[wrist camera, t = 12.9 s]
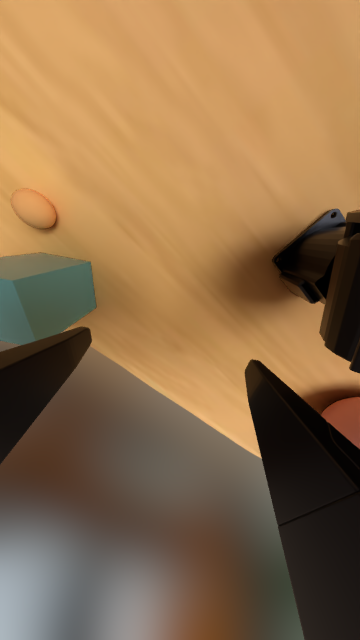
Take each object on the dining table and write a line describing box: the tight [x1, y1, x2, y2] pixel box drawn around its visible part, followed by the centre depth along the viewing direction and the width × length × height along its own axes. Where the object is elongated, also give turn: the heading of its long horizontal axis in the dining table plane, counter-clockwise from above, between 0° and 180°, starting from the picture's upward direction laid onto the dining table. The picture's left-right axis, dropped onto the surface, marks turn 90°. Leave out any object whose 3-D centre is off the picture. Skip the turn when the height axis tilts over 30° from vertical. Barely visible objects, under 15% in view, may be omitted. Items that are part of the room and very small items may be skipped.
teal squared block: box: [0, 253, 96, 345], centre depth 17 cm, size 7×7×10 cm
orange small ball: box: [11, 189, 56, 229], centre depth 16 cm, size 3×3×3 cm
